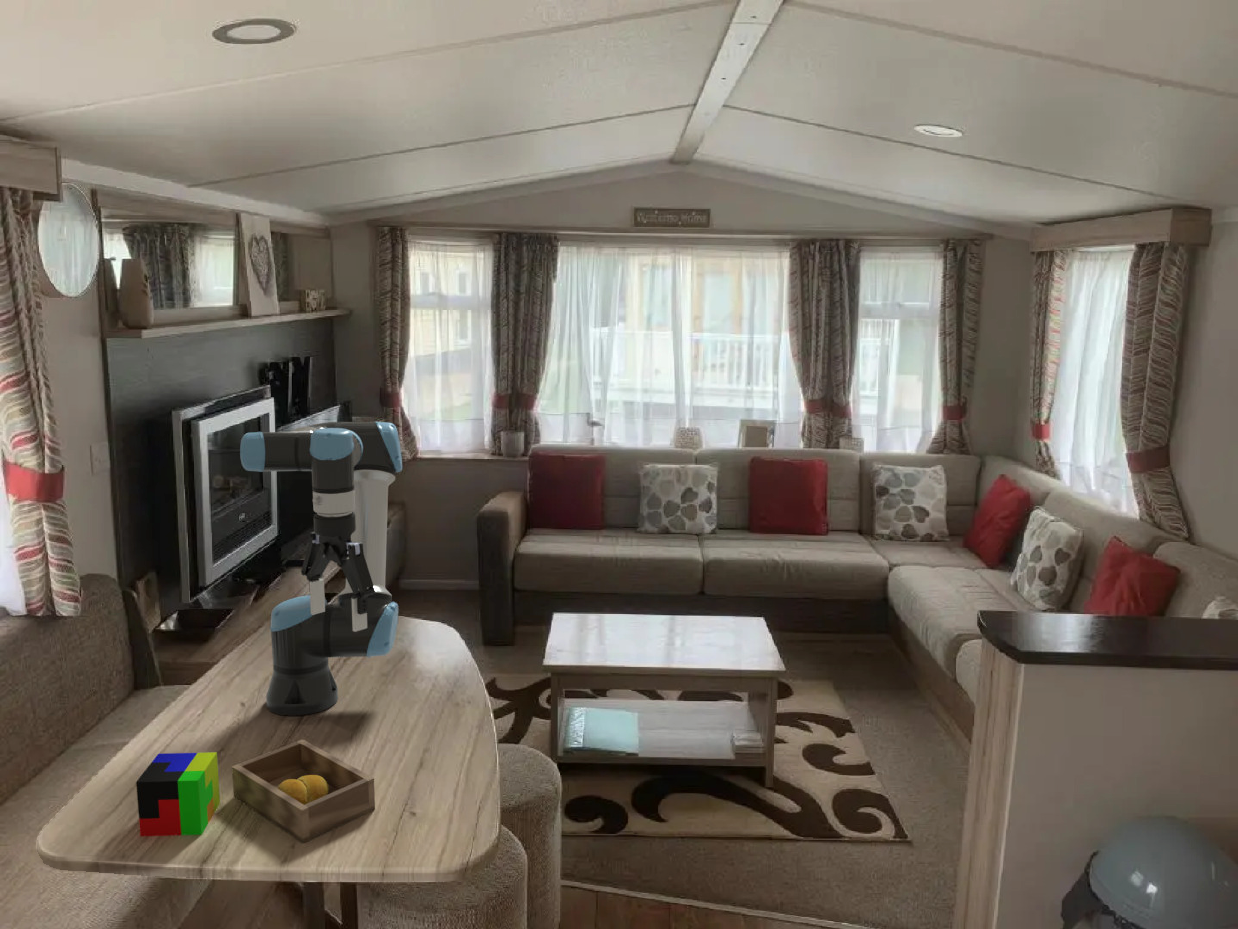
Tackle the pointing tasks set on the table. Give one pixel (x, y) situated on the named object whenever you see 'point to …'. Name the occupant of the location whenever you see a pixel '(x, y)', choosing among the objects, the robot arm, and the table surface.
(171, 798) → the puzzle toy
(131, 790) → the table surface
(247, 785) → the wooden box
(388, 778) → the table surface
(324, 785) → the bread roll
